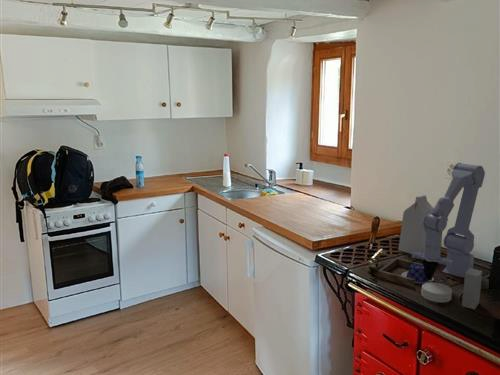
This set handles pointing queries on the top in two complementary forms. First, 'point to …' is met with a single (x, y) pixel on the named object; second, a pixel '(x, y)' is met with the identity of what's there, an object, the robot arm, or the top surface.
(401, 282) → the holder
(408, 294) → the top surface
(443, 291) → the white short cylinder
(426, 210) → the milk
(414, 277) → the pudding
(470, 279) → the skincare box
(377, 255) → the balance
